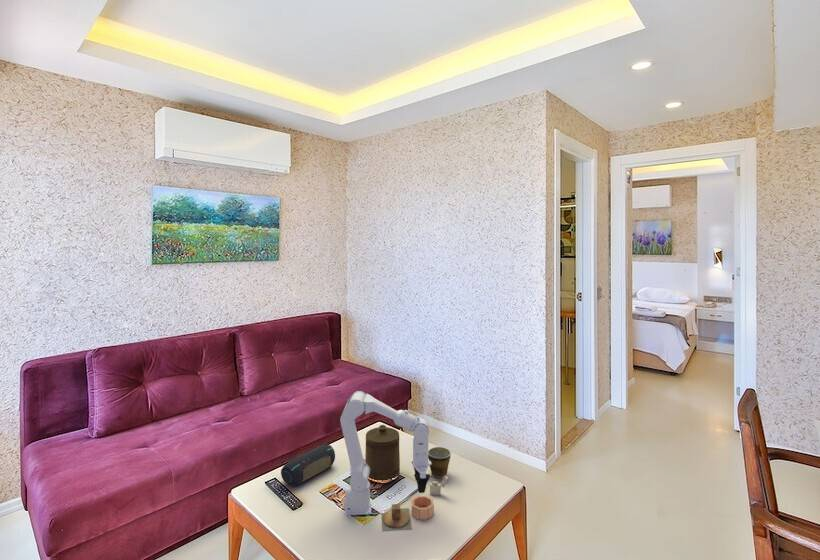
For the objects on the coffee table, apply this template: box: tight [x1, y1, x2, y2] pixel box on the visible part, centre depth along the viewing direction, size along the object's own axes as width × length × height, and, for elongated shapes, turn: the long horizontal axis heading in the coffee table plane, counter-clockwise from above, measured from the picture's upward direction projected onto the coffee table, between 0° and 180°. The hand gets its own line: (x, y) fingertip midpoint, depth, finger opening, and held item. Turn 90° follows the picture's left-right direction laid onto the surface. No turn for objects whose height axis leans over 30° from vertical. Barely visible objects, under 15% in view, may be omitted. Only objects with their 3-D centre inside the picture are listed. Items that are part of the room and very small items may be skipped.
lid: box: [383, 503, 409, 528], centre depth 152 cm, size 10×10×5 cm
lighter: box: [429, 475, 449, 496], centre depth 168 cm, size 7×2×8 cm, turn 81°
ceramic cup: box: [428, 446, 452, 479], centre depth 182 cm, size 13×10×10 cm
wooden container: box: [364, 424, 401, 481], centre depth 182 cm, size 15×15×22 cm
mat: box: [380, 507, 413, 532], centre depth 152 cm, size 10×12×1 cm
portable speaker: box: [280, 444, 336, 487], centre depth 182 cm, size 25×10×10 cm, turn 143°
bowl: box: [410, 495, 435, 520], centre depth 156 cm, size 8×8×4 cm
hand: (420, 486), depth 157 cm, fingers open, 7 cm apart
